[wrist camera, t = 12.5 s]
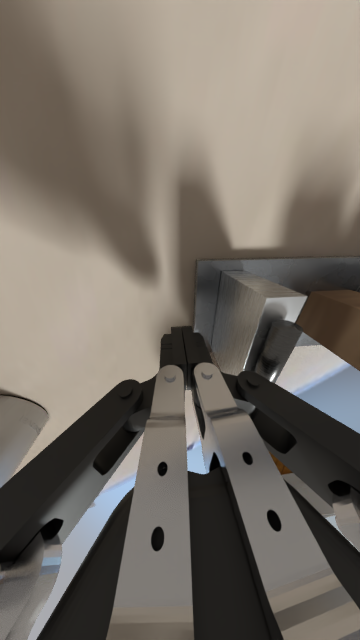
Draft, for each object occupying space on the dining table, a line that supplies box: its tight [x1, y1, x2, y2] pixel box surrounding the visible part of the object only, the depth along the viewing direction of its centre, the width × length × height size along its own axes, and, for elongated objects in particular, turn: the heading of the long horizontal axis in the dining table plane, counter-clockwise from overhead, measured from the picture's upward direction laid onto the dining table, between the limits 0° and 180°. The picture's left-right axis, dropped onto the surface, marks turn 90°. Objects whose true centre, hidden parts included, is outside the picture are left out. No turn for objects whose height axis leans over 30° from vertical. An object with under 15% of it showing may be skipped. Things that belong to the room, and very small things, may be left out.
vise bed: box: [193, 256, 360, 352], centre depth 12 cm, size 19×10×7 cm, turn 91°
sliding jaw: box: [211, 271, 308, 383], centre depth 11 cm, size 2×8×7 cm, turn 1°
